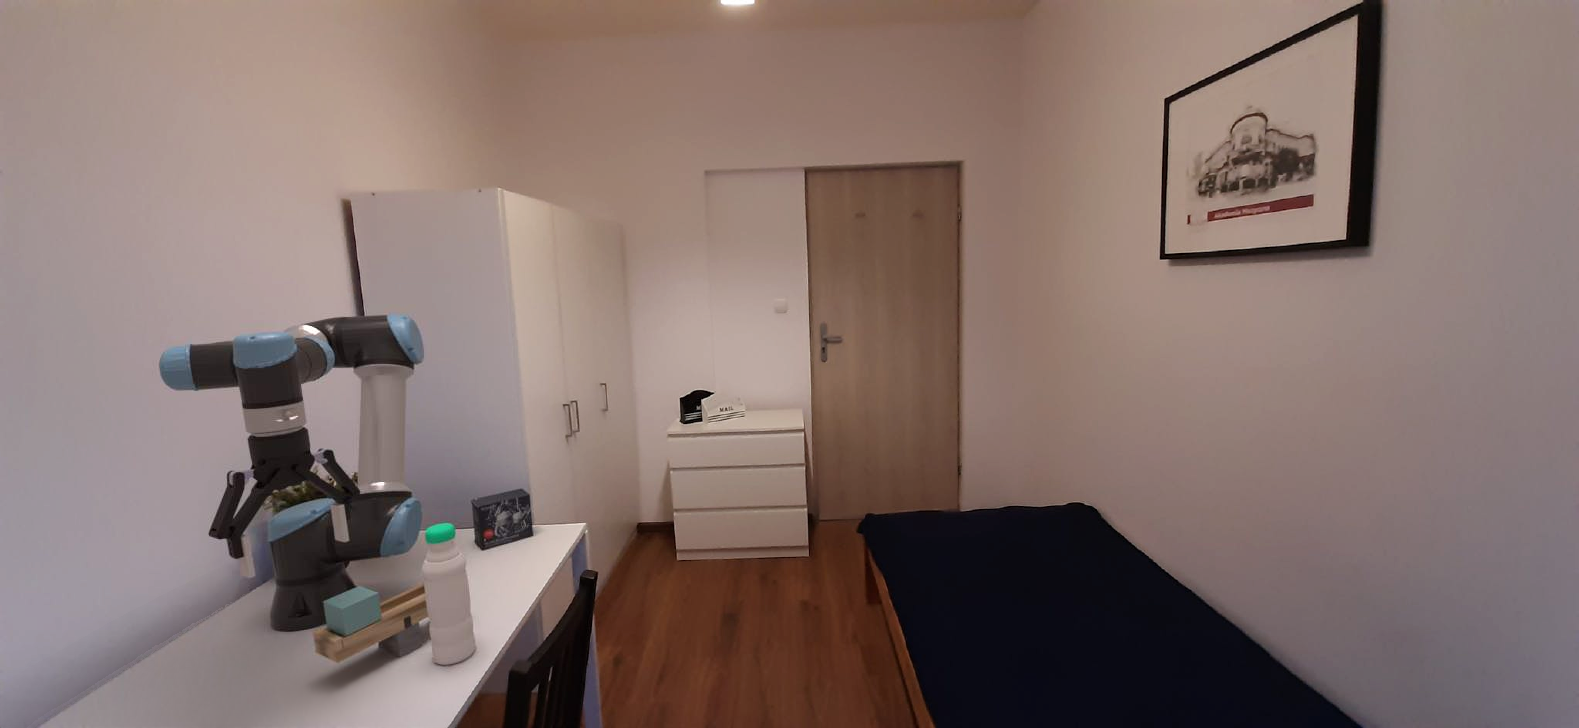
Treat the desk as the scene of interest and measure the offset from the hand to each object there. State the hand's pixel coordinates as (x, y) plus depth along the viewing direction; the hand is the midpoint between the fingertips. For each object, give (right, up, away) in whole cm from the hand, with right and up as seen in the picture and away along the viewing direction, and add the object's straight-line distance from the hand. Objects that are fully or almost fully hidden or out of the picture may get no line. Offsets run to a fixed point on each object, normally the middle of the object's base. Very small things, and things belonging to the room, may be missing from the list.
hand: (297, 557), depth 103 cm
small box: (+4, -15, +65) cm, 67 cm away
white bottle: (+18, -23, +14) cm, 32 cm away
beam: (+6, -22, +17) cm, 29 cm away
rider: (+3, -16, +10) cm, 19 cm away
